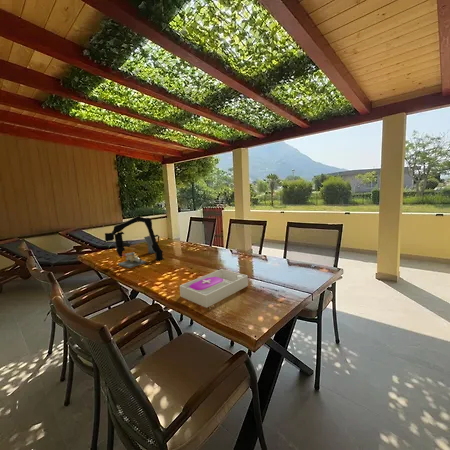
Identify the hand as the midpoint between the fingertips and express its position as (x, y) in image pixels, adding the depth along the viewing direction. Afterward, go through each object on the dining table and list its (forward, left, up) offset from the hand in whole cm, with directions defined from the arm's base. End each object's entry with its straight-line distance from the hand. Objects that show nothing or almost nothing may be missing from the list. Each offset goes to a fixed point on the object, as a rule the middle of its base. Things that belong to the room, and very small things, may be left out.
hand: (121, 257), depth 204 cm
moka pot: (+14, -43, -8) cm, 46 cm away
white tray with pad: (-104, 0, -8) cm, 104 cm away
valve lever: (0, -5, 0) cm, 5 cm away
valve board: (-3, -8, -8) cm, 11 cm away
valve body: (-3, -10, -6) cm, 12 cm away
